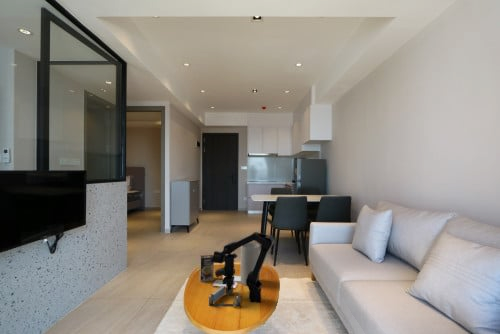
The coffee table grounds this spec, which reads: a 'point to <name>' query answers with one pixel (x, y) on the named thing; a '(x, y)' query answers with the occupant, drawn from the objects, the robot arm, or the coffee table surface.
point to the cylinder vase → (248, 259)
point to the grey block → (218, 293)
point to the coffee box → (206, 268)
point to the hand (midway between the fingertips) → (229, 290)
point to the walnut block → (228, 292)
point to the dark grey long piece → (237, 303)
